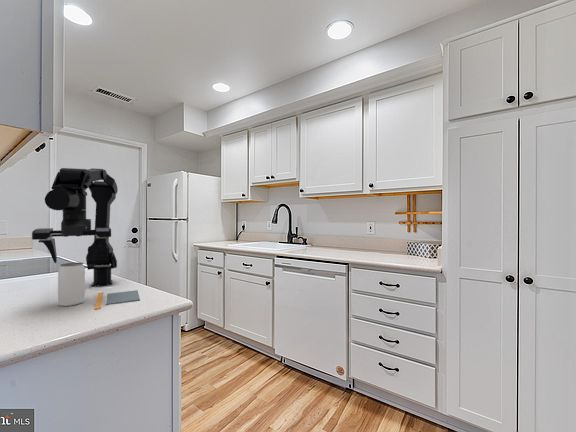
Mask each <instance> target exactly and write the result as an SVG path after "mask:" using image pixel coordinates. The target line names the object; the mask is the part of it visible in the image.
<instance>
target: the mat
mask: <svg viewBox="0 0 576 432" xmlns="http://www.w3.org/2000/svg"><path fill="white" fill-rule="evenodd" d="M138 291H139V290H137V289H136V290H135V289H134V290H128V291H121V292H120V291H119V292H118V291H117V292H112V293H110V292H109V293H106V294H107V295H106V302H105V305H106V306H109V305H116V304H118V305H119V304H124V303H133V302H138V301H139V302H140V301H141V298H140V294H139V292H138Z"/></svg>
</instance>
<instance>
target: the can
mask: <svg viewBox="0 0 576 432" xmlns="http://www.w3.org/2000/svg"><path fill="white" fill-rule="evenodd" d="M57 271H58V273H57V280H58V281H57V292H58V293H57V303H58V306H59V307H72V306H78V305H80V304H82V303H84V302H85V301H86V299H85V298H86V295H85V294H86V267H85V266H84V262H81V261H80V262H77V261H76V262H66V263H61V264H59V268H58V270H57Z"/></svg>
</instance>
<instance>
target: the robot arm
mask: <svg viewBox="0 0 576 432" xmlns="http://www.w3.org/2000/svg"><path fill="white" fill-rule="evenodd" d="M87 189H88V190H89V191H90V194H91V195H90V196H91V198H92V199H93V201H94V202H95V220H94V229H92V219H90V218H87V196H88V191H87ZM118 189H119V188H118V185H117V182H116V180H115V179H114V178H113V177H112V176H111V175H109V174H108V173H107V170H106V169H104V168H93V167H92V168H89V169H86V168H75V167H74V168H72V167H61V168H60V169H59V171H58V172H57V173H56V175H55V178H54V181H53V182H52V186H51V190H50V191H48V192H47V193H46V194H45V197H44V204H45V205H46V206H47V208H49V209H51V210H53V211H62V221H61V222H60V230H59V229H58V230H54V228H53V227H52V228H51V227H49V228H48V227H46V228H45V227H43V228H41V227H40V228H35V229H34V230H33V231H32V232H31V240H35V241H37V240H38V243H43V245H44V246H45V247H46V248H47V250H48V252H49V253H50V256H51V258H52V260H53V263H55V264H57V262H58V260H57V259H58V255H57V245H56V240H55V239H56V238H54V237H65V238H66V237H67V238H68V237H81V236H86V237H87V236H94V238H93V243H92V244H91V245H90V246H88V247H87V254H86V256H85V261H86V266H87V270H93V282H92V284H91V287H100V286H111V285H113V279H112V270H113V269H117V268H118V260H117V258H116V254H115V252H114V248H113V246H112V244H111V243H110V239H109V238H111V237H112V228H111V227H110V224H111V223H110V221H111V220H110V218H111V205H112V203H113V202H114V201H116V200H115V199H116V197H117V196H116V195H117V194H118Z"/></svg>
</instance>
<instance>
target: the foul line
mask: <svg viewBox="0 0 576 432" xmlns="http://www.w3.org/2000/svg"><path fill="white" fill-rule="evenodd" d="M103 298H104V291H103V292H102V291H101V292H97V296H96V300H95V306H94V308H93V309H94V310H96V311H97V310H101V309H102V303H103Z"/></svg>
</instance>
